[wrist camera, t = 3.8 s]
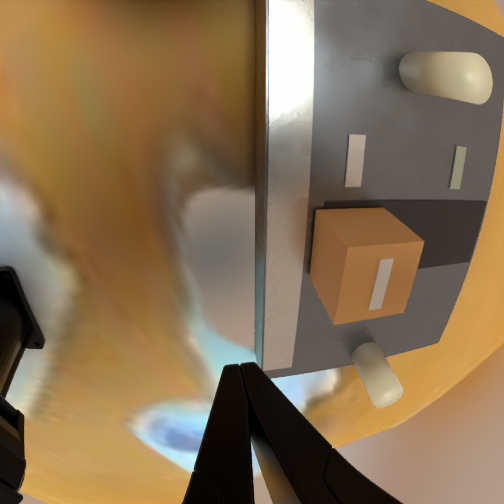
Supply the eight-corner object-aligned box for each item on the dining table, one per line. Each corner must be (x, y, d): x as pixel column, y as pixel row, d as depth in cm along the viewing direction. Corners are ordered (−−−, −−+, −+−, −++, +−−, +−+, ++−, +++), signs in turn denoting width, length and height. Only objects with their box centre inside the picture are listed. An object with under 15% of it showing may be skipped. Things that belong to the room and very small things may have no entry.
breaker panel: (423, 322, 23) (438, 343, 21) (254, 352, 22) (261, 380, 19) (476, 37, 13) (505, 38, 10) (255, -18, 11) (266, -36, 9)
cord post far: (374, 359, 21) (397, 403, 17) (348, 365, 20) (370, 411, 17) (381, 339, 20) (408, 384, 16) (354, 344, 19) (379, 392, 16)
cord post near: (431, 95, 12) (490, 108, 9) (398, 89, 12) (457, 98, 8) (432, 57, 11) (493, 60, 8) (399, 48, 11) (459, 46, 7)
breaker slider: (371, 271, 16) (404, 314, 13) (309, 278, 16) (334, 326, 13) (383, 207, 14) (425, 242, 11) (315, 209, 14) (348, 248, 11)
